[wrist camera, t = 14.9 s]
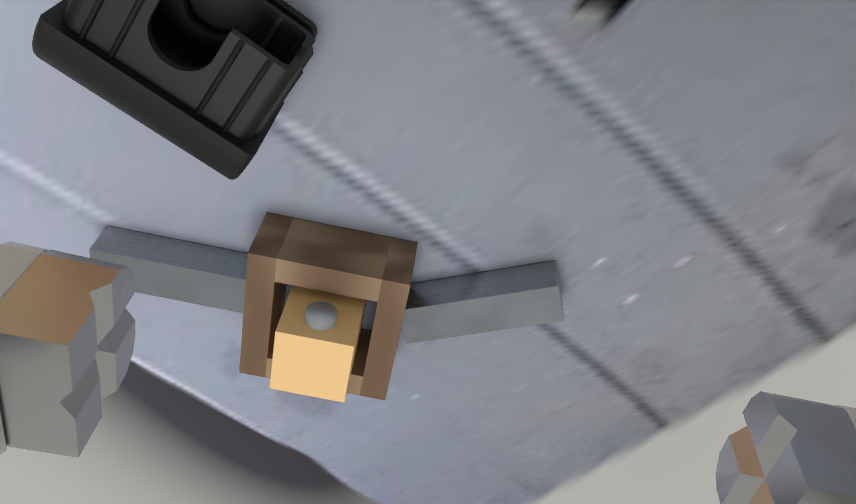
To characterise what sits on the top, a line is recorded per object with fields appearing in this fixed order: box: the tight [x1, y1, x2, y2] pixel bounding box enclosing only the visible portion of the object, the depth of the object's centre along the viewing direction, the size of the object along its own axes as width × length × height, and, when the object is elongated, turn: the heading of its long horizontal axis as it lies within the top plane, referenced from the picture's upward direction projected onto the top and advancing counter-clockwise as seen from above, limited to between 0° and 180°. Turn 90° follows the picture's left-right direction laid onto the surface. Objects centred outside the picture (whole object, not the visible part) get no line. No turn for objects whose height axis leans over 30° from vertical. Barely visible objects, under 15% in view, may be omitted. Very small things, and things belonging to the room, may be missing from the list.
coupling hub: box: [240, 213, 417, 400], centre depth 45 cm, size 8×8×4 cm
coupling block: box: [270, 285, 367, 402], centre depth 44 cm, size 4×5×7 cm
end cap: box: [32, 0, 317, 180], centre depth 36 cm, size 10×7×7 cm
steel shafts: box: [90, 226, 564, 343], centre depth 45 cm, size 26×6×2 cm, turn 80°
